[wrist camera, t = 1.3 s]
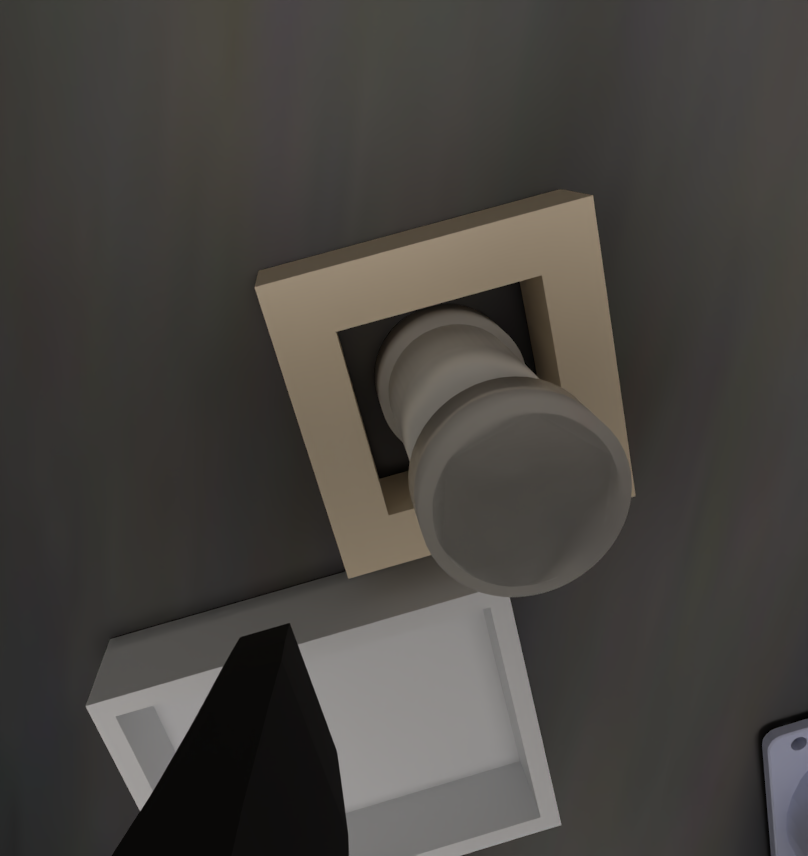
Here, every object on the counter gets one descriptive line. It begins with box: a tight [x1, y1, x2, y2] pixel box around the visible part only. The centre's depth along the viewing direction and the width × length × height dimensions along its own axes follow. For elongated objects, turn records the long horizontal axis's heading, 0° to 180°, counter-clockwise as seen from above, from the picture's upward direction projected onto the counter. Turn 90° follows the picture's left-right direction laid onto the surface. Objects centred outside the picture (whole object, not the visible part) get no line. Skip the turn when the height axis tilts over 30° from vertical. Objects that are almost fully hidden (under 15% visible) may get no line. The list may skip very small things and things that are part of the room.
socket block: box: [255, 189, 636, 579], centre depth 17 cm, size 7×7×2 cm
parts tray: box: [86, 555, 561, 856], centre depth 20 cm, size 10×8×2 cm
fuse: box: [374, 304, 632, 597], centre depth 15 cm, size 3×3×7 cm
